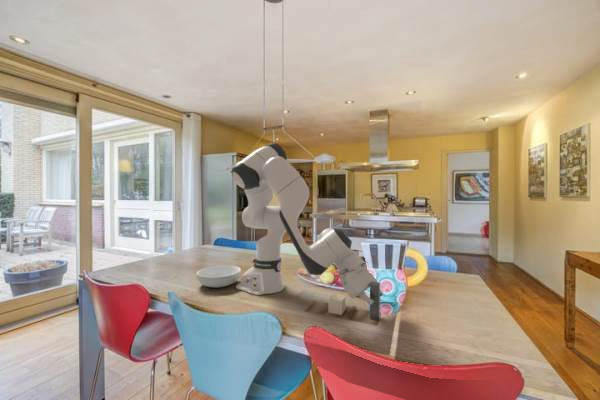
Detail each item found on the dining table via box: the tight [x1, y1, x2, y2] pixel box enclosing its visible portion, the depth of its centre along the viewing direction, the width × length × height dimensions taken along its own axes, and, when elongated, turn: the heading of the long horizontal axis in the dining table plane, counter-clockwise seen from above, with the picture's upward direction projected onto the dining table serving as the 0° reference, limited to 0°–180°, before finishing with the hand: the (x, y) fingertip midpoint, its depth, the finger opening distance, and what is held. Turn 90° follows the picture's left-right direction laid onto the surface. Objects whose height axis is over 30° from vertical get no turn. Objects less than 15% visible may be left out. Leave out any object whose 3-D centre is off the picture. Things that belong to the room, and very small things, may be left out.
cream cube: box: [327, 293, 347, 315], centre depth 95 cm, size 5×5×5 cm
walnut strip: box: [304, 281, 382, 326], centre depth 95 cm, size 26×10×13 cm, turn 66°
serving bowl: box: [196, 265, 242, 289], centre depth 128 cm, size 21×21×7 cm
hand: (376, 299), depth 89 cm, fingers open, 7 cm apart
